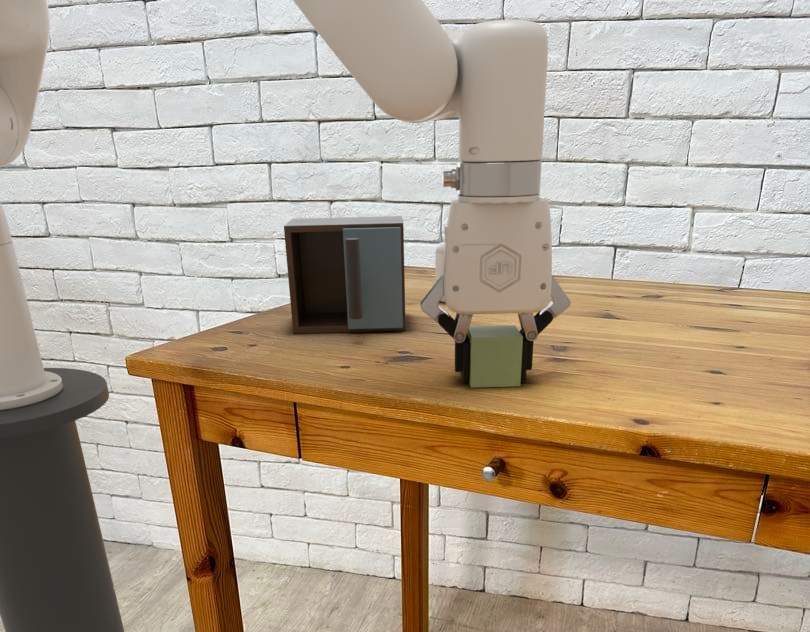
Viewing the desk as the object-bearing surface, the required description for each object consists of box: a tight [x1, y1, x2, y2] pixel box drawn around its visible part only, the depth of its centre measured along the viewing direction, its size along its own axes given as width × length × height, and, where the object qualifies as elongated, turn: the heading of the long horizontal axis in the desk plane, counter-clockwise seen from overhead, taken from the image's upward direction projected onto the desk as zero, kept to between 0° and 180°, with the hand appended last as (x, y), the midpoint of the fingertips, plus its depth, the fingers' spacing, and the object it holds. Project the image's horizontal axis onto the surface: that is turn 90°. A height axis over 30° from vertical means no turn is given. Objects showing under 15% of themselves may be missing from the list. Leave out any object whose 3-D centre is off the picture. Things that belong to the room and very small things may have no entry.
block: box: [467, 324, 523, 389], centre depth 78 cm, size 5×5×5 cm
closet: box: [283, 215, 407, 334], centre depth 100 cm, size 9×15×13 cm, turn 91°
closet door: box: [343, 227, 403, 329], centre depth 93 cm, size 6×7×12 cm
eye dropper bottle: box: [434, 224, 447, 304], centre depth 113 cm, size 4×6×12 cm
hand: (492, 376), depth 79 cm, fingers closed on block, 5 cm apart
